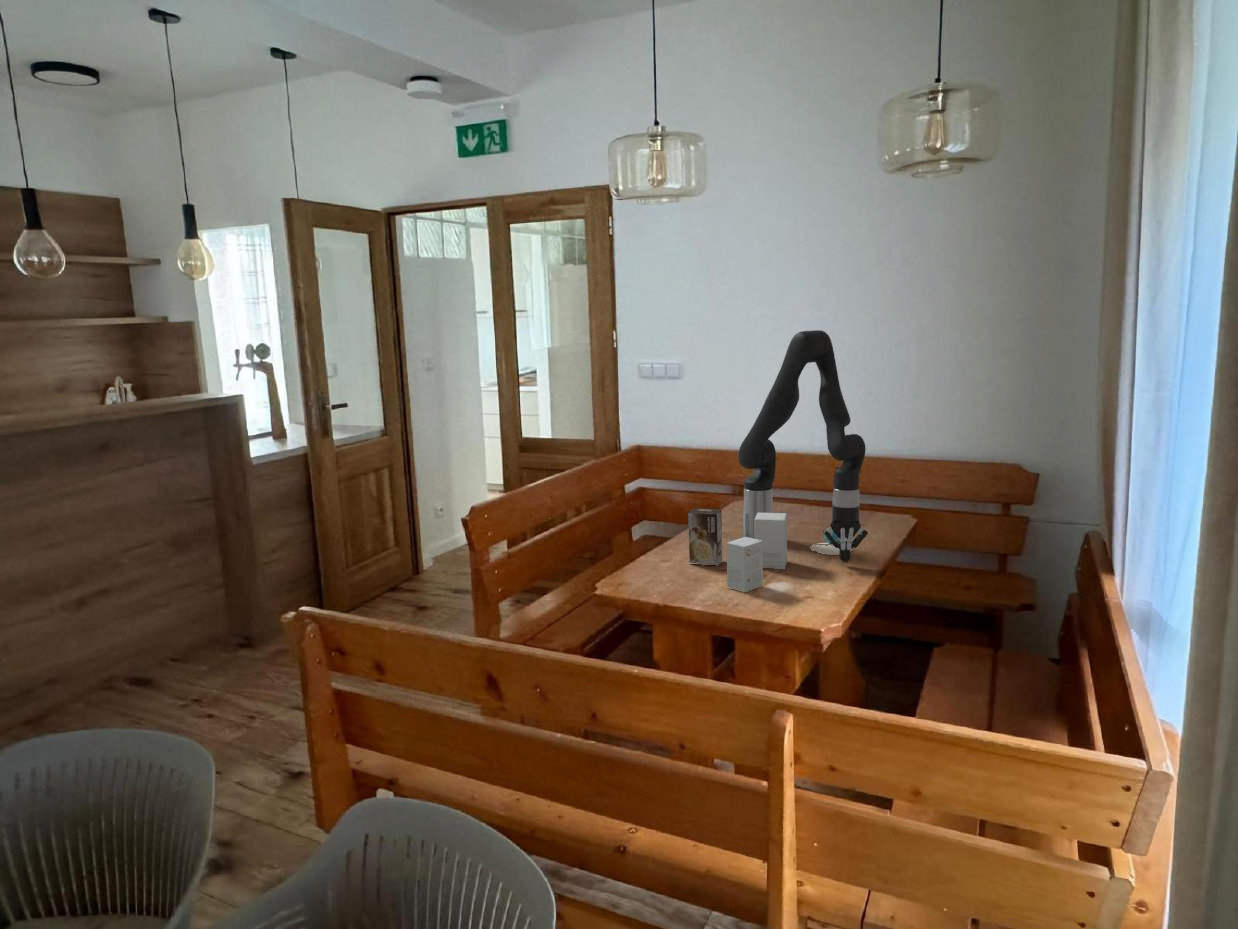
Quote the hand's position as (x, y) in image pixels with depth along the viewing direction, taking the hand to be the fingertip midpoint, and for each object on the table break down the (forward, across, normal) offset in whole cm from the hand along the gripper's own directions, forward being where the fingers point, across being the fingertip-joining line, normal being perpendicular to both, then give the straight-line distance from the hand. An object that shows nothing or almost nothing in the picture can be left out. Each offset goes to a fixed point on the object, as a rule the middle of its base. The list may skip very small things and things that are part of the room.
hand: (844, 561), depth 238 cm
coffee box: (+2, -40, +6) cm, 40 cm away
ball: (-1, +2, +24) cm, 24 cm away
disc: (+2, 0, +18) cm, 18 cm away
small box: (+2, -31, -17) cm, 35 cm away
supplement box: (+2, -21, +3) cm, 21 cm away
